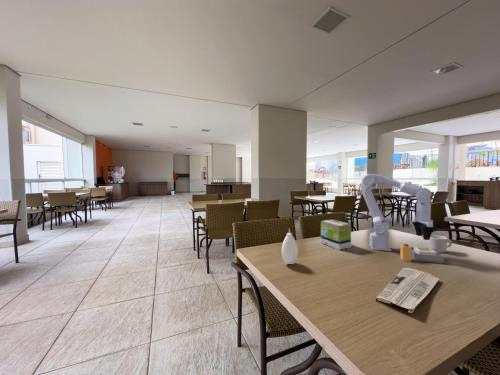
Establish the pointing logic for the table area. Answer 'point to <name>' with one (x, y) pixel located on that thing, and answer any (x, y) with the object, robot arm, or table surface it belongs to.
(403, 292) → the newspaper
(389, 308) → the table surface
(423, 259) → the walled box
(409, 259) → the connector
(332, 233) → the tea box
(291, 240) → the sauce bottle
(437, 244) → the cup
